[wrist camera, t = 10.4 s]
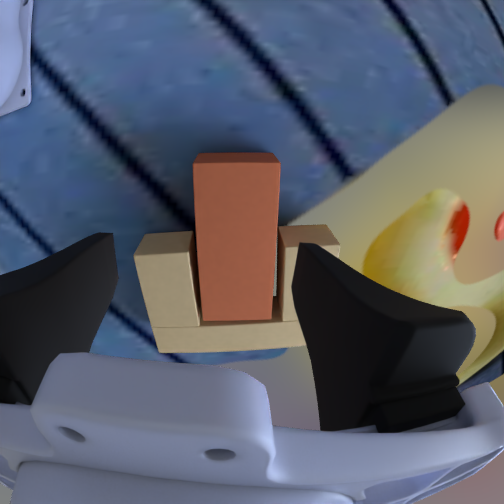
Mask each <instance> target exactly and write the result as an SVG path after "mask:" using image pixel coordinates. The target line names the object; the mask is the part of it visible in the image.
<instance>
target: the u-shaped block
mask: <svg viewBox="0 0 504 504" xmlns="http://www.w3.org/2000/svg"><path fill="white" fill-rule="evenodd" d="M277 239H278V240H277V290H276V296H273V300H272V314H271V319H267V320H230V321H203V316H202V306H201V294H200V283H199V273H198V265H197V257H196V249H195V241H194V232H193V231H183V232H167V233H152V234H145V235H144V237H143V239H142V241H141V242H140V244H139V246H138V248H137V250H136V252H135V253H134V260H135V265H136V269H137V273H138V277H139V282H140V286H141V290H142V294H143V297H144V301H145V305H146V309H147V312H148V316H149V320H150V323H151V326H152V330H153V334H154V337H155V340H156V344H157V347H158V350H159V353H195V352H225V351H245V350H261V349H274V348H286V347H296V346H307V345H306V342H305V339H304V336H303V333H302V330H301V327H300V324H299V321H298V317H297V314H296V311H295V308H294V302H293V296H292V290H291V285H292V279H293V274H294V269H295V263H296V258H297V252H298V247H299V242H302V243H315V244H317V245H319V246H321V247H322V248H324V249H325V250H327V251H328V252H330V253H331V254H332V255H334V256H335V257H337V258H338V259H339V250H340V244H339V242H338V241H337V239H336V238H335V237H334V235H333V233H332V232H331V230H330V229H329V228H328V227H327V225H300V226H278V235H277Z"/></svg>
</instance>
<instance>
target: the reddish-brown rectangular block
mask: <svg viewBox="0 0 504 504" xmlns="http://www.w3.org/2000/svg"><path fill="white" fill-rule="evenodd" d="M280 166H281V163H280V162H279V161H278V159H277V158H276V157H275V155H274V154H273V153H199V154H198V155H197V157H196V159H195V161H194V162H193V186H194V207H195V226H196V242H197V257H198V270H199V283H200V294H201V306H202V316H203V321H230V320H267V319H271V314H272V300H273V285H274V271H275V256H276V240H277V223H278V205H279V187H280Z"/></svg>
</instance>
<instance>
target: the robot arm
mask: <svg viewBox="0 0 504 504" xmlns="http://www.w3.org/2000/svg"><path fill="white" fill-rule="evenodd" d="M27 1H28V3H27V4H26V2H27ZM33 1H34V0H0V116H3V115H5V114H8V113H10V112H13V111H15V110H18V109H21V108H23V107H26V106H28V105H29V104H30V102H31V76H30V44H31V23H32V11H33ZM24 90H25V91H26V93H25V95H24V94H23V92H24ZM118 279H119V277H118V270H117V263H116V255H115V247H114V238H113V233H101V232H99V233H96V234H93V235H91V236H88V237H86V238H84V239H82V240H80V241H78V242H76V243H74V244H72V245H71V246H69V247H67V248H65V249H63V250H61V251H59V252H57V253H55V254H53V255H51V256H49V257H47V258H45V259H43V260H41V261H38V262H36V263H34V264H31V265H29V266H26V267H24V268H21V269H18V270H15V271H12V272H9V273H6V274H2V275H0V484H2V485H4V486H6V487H8V488H10V489H12V490H13V493H12V497H11V501H10V504H412V503H414V502H417V501H419V500H421V499H424V498H426V497H428V496H430V495H432V494H435V493H437V492H439V491H441V490H443V489H445V488H447V487H450V486H452V485H454V484H456V483H458V482H460V481H462V480H464V479H465V478H467V477H469V476H471V475H473V474H475V473H476V472H478V471H479V470H480V469H481V468H483V467H484V466H485V465H486V464H488V463H489V462H490V461H491V460H493V459H494V458H495V457H496V456H497V455H498V454H500V453H501V452H502V451H503V450H504V406H503V405H502V403H501V402H500V400H499V398H498V397H497V395H496V393H495V392H494V390H493V389H492V387H491V386H490V384H489V382H486V383H483V384H480V385H477V386H474V387H471V388H468V389H466V390H464V391H463V392H462V393H459V392H458V390H457V388H456V386H458V385H459V381H460V380H459V379H458V377H457V376H456V372H457V371H458V369H459V368H460V366H461V365H462V363H463V362H464V360H465V359H466V357H467V355H468V354H469V352H470V350H471V348H472V346H473V343H474V340H475V337H476V329H475V327H474V325H473V323H472V322H471V321H470V320H469V318H468V317H467V316H466V315H465V314H464V313H463V312H462V311H457V310H453V309H448V308H443V307H439V306H435V305H431V304H428V303H425V302H421V301H418V300H415V299H413V298H410V297H407V296H405V295H402V294H400V293H397V292H395V291H393V290H391V289H388V288H386V287H384V286H382V285H380V284H378V283H376V282H374V281H373V280H371V279H369V278H367V277H366V276H364V275H362V274H361V273H359V272H358V271H356V270H354V269H353V268H351V267H350V266H348V265H347V264H345V263H344V262H342V261H341V260H340V259H338V258H337V257H335V256H334V255H332V254H331V253H330V252H328V251H327V250H325V249H324V248H322V247H321V246H319V245H317V244H315V243H302V242H299V247H298V252H297V258H296V263H295V269H294V274H293V279H292V285H291V290H292V296H293V302H294V308H295V311H296V314H297V317H298V321H299V324H300V327H301V330H302V333H303V336H304V339H305V342H306V345H307V348H308V352H309V356H310V359H311V364H312V370H313V375H314V381H315V388H316V394H317V401H318V410H319V418H320V419H319V420H320V430H321V431H317V430H307V429H297V428H288V427H280V426H273V425H272V421H271V413H270V406H269V400H268V396H267V392H266V388H265V385H263V384H262V383H260V382H259V381H257V380H256V379H255V378H253V377H252V376H250V375H249V374H247V373H246V372H244V371H240V370H235V369H230V368H225V367H220V366H215V365H201V364H184V363H171V362H159V361H148V360H139V359H130V358H121V357H114V356H106V355H99V354H93V353H89V351H90V348H91V345H92V342H93V340H94V337H95V335H96V333H97V331H98V329H99V326H100V324H101V322H102V320H103V318H104V315H105V313H106V311H107V309H108V307H109V305H110V303H111V300H112V298H113V295H114V292H115V289H116V285H117V282H118Z"/></svg>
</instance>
